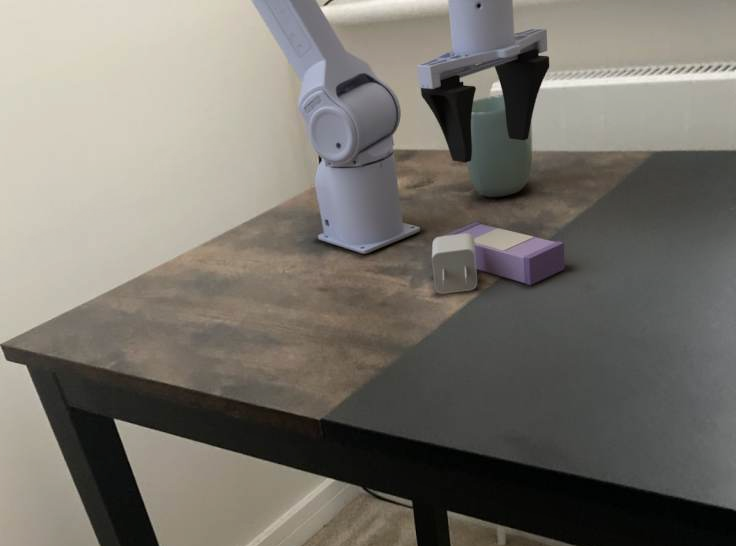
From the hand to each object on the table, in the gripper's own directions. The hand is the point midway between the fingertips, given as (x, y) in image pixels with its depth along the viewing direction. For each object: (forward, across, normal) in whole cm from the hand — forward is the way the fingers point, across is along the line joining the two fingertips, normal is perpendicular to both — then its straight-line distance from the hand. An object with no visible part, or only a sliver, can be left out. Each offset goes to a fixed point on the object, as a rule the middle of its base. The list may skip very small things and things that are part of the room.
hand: (490, 149), depth 88 cm
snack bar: (+9, -4, -5) cm, 11 cm away
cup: (+10, +12, +12) cm, 19 cm away
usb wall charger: (+10, -10, -6) cm, 15 cm away
